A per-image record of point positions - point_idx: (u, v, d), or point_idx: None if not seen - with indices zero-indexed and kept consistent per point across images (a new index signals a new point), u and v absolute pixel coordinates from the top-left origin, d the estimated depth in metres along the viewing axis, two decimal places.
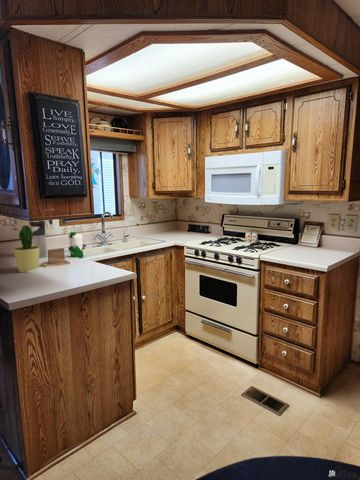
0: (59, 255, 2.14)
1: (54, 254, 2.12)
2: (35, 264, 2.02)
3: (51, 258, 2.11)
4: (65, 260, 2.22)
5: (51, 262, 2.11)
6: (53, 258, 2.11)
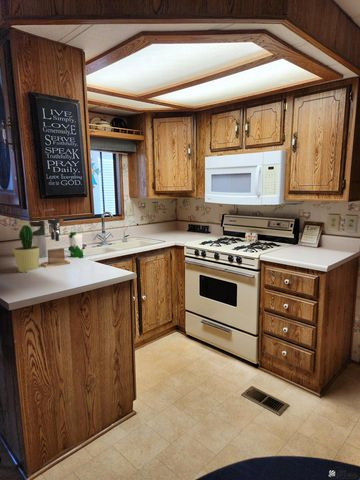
0: (59, 255, 2.14)
1: (54, 254, 2.12)
2: (35, 264, 2.02)
3: (51, 258, 2.11)
4: (65, 260, 2.22)
5: (51, 262, 2.11)
6: (53, 258, 2.11)
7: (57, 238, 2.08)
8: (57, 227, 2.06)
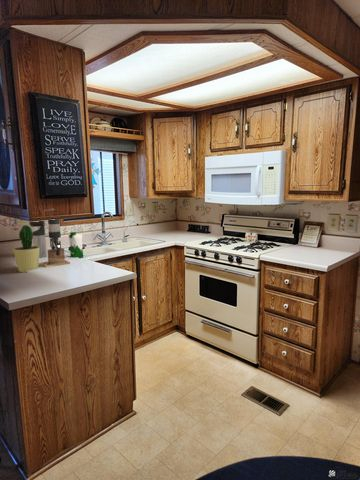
0: (59, 255, 2.14)
1: (54, 254, 2.12)
2: (35, 264, 2.02)
3: (51, 258, 2.11)
4: (65, 260, 2.22)
5: (51, 262, 2.11)
6: (53, 258, 2.11)
7: (58, 253, 2.09)
8: (58, 242, 2.07)
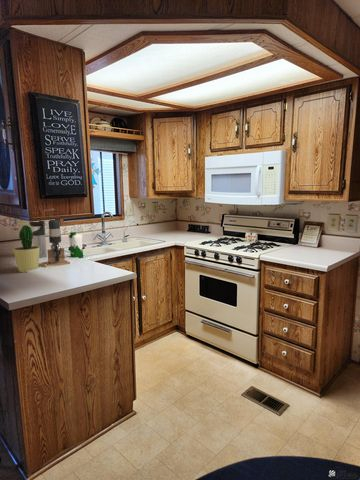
0: (59, 255, 2.14)
1: (54, 254, 2.12)
2: (35, 264, 2.02)
3: (51, 258, 2.10)
4: (65, 260, 2.22)
5: (51, 262, 2.11)
6: (53, 258, 2.11)
7: (57, 258, 2.12)
8: (58, 249, 2.08)
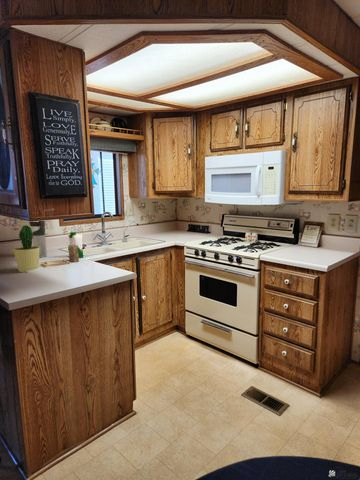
0: None
1: None
2: (35, 264, 2.02)
3: None
4: (65, 260, 2.22)
5: None
6: None
7: None
8: None
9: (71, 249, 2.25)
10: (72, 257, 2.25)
